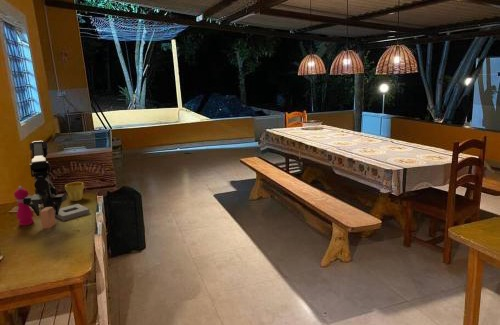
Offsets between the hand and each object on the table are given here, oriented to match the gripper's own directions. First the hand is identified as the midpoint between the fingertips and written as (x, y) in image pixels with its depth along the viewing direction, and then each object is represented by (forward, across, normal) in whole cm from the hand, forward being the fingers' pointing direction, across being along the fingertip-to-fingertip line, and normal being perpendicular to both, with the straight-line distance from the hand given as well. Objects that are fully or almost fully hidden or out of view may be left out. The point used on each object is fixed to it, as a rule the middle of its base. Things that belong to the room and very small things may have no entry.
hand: (47, 215), depth 180 cm
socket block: (+6, +4, +16) cm, 17 cm away
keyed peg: (+6, 0, 0) cm, 6 cm away
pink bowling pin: (+6, -14, +5) cm, 16 cm away
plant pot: (+6, -4, +42) cm, 42 cm away
